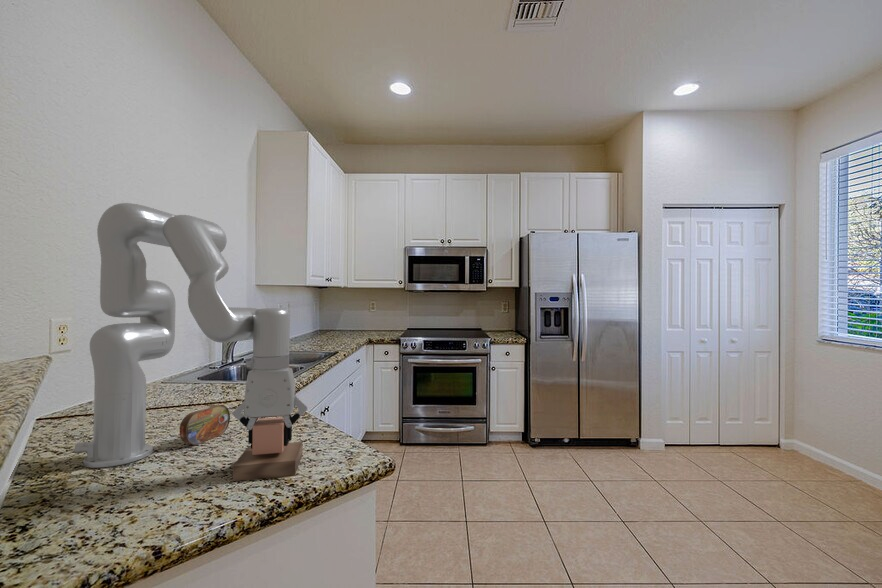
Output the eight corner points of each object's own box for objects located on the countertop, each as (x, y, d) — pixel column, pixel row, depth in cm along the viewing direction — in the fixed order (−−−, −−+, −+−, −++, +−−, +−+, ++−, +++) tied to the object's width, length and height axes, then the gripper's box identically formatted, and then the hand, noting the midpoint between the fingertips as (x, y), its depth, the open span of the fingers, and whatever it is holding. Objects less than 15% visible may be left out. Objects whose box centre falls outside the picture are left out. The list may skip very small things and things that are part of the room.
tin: (187, 449, 97) (187, 415, 98) (176, 448, 98) (177, 415, 98) (230, 431, 112) (231, 401, 112) (221, 430, 113) (221, 401, 113)
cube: (252, 454, 83) (252, 426, 83) (258, 445, 89) (259, 418, 89) (282, 452, 84) (282, 424, 84) (286, 443, 90) (287, 416, 90)
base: (232, 481, 79) (232, 465, 79) (248, 458, 91) (248, 445, 91) (295, 475, 82) (295, 460, 82) (302, 454, 93) (302, 441, 94)
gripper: (223, 367, 82) (222, 454, 81) (310, 364, 85) (309, 447, 85) (234, 362, 89) (233, 442, 88) (313, 360, 93) (312, 436, 92)
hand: (270, 444), depth 86 cm, fingers closed on cube, 6 cm apart
